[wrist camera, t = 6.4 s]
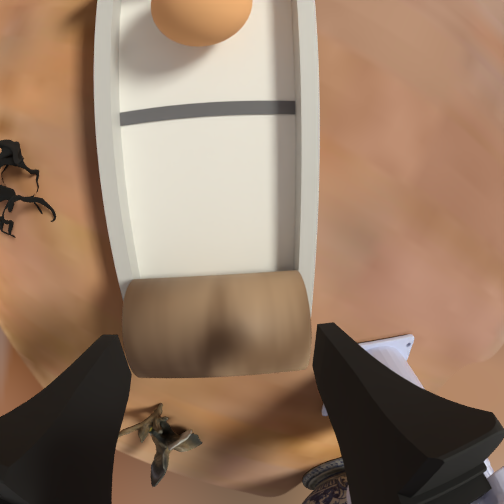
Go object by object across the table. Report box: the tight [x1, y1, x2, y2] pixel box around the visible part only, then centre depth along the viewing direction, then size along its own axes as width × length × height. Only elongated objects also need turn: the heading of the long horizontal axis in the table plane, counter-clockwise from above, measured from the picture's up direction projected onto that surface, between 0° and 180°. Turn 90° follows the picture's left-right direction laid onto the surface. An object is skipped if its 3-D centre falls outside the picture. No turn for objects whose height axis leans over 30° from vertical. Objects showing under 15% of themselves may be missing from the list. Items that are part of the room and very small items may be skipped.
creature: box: [0, 140, 56, 238], centre depth 15 cm, size 8×5×8 cm
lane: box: [94, 0, 320, 316], centre depth 16 cm, size 26×12×4 cm, turn 1°
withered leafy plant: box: [118, 403, 202, 487], centre depth 25 cm, size 8×7×9 cm
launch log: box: [122, 270, 312, 378], centre depth 18 cm, size 6×10×6 cm, turn 91°
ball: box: [151, 0, 253, 47], centre depth 11 cm, size 5×5×5 cm
